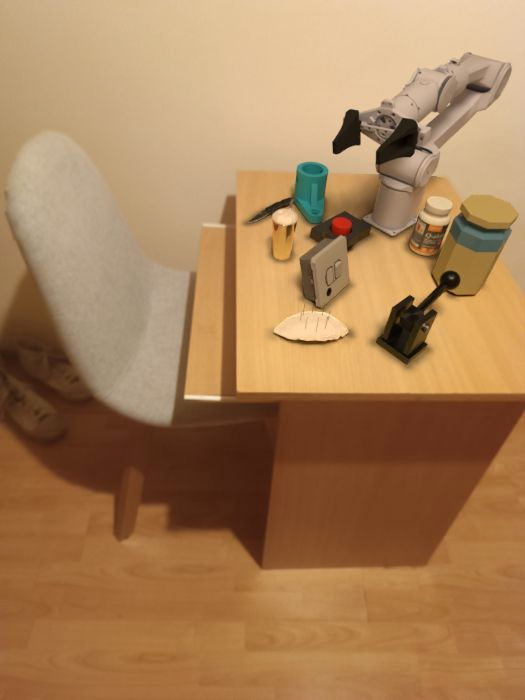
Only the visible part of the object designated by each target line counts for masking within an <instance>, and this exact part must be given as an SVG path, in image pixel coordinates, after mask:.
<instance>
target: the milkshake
mask: <svg viewBox="0 0 525 700" xmlns="http://www.w3.org/2000/svg"><path fill="white" fill-rule="evenodd" d="M293 201H294V199H291V203H290V204H289V207H288V208H279V209H278V210H275V211H274V212H273V214H272V215H271V224H272V255H273V258H275V259H277V260H279V261H285V260H288V259H289V258H290V257H291V254H292V249H293V244H294V239H295V233H296V229H297V225H298V220H299V217H298V214H297V212H295V211H294V210H292V209H293V206H294V202H293Z"/></svg>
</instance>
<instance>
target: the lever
mask: <svg viewBox="0 0 525 700" xmlns="http://www.w3.org/2000/svg"><path fill="white" fill-rule="evenodd" d="M439 283H440V285H439V286H438V285H437V286H436V287H435V288H434V289H433V290H432V291H431V292H430V293H429V294H427V297H425V298H424V299H423V300H422V301H421V302H420V303H419V304H418V305H417V306H416V305H414V303H413V304H412V305H411V306H410V307H409V308H408V309H407V310H406V311H405V312H404V313H403V314H402V315H401V316H400V321H399V325H400V326H401V327H403V328H404V329H406V330H407V331H409V332H410V333H411V331H412V328H413V326H414V323H415V322H416V321H417V320H419V319H420V318H421V317H422V316H424V315H425V312H426V311H427V310H428V309H429V308H430V307H431V306H432V305H433V304H434V303H435V302H436V301H437V300H438V299H439V298H440V297H441V296H442V295H443V294H444V293H445V292H446V291H448V290H454V289H456V288H457V287H458V286H459V284H460V276H459V274H458V273H457V272H455V271H451V270H450V271H446V272H444V273H443V274H442V275H441V276H440V279H439Z"/></svg>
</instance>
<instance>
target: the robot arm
mask: <svg viewBox="0 0 525 700" xmlns="http://www.w3.org/2000/svg"><path fill="white" fill-rule="evenodd" d="M512 71H513V67H512V62H509V61H507V62H504V61H501V60H497V59H493V58H489V57H486V56H481V55H478V54H474V53H472V52H470V51H467V52H464V53H463V55H462V56H461V57H460V58H459V59H458V58H453V57H452V58H451V59H450V60H449V62H447V63H445V64H440V65H438V67H435V68H434V69H430V68H426V67H423V68H420V67H417V68H416V69H415V71H414V72H413V73H412V75H411V77H410V79H409V80H408V82H406V83H405V84H404V86H403V88H402V90H401V91H400V92H399V93H397V94H396V95H395V96H394V97H393V98H391V99H388V98H384V99H383V100H382V101H381V102H380V106H378V107H375V108H371V109H366V110H362V111H360V110H359V109H353V108H349V109H347V111H345V113H344V116H343V117H342V125H341V127H340V129H339V131H338V132H337V134H336V136H335V137H334V139H332V141H331V147H332V154H333V155H340V154H341V153H343V152H344V151H346V150H347V149H350V148H351V147H356V146H359V147H360V146H361V145H362V134H363V135H364V136H365V137H367V138H369V139H370V140H371V141H374V142H375V143H377V144H378V145H379V146H378V147H377V149H376V150H375V166H374V167H375V172H376V173H377V174H378V178H377V180H379V181H380V184H379V187H378V192H377V195H376V199H375V203H374V207H373V211H372V212H371V213H369V214H367V215H365V216H363V217H362V221H364V222H365V223H367V224H369V225H371V227H372V226H373V227H374V228H376V229H378V230H380V231H381V232H383V233H384V234H387V235H388V236H390V237H395V236H397V235H398V234H400V233H402V232H403V231H405V230H407V229H408V228H410V227H413V225H414V226H415V224H416V221H417V218H418V214H419V209H420V207H421V205H422V202H423V201H422V200H423V198H424V195H425V191H426V190H425V186H426V185H427V184H428V183H429V181H430V179H431V178H432V176H433V174H434V173H436V171H437V169H438V166H439V162H440V157H441V156H440V155H441V150H440V149H441V148H442V147H443V146H444V145H446V143H447V142H449V140H451V138H453V137H454V136H455V135H456V134H457V133H459V131H460V130H461V129H463V127H465V125H467V123H469V121H470V120H471V119H472V118H473V117H474V116H475V115H476V114H477V113H478V112H482V111H486V110H487V109H488V108H489V107H491V105H493V104H494V103H495V102H496V101H497V100H498V99H499V98H500V96H501V95H502V93H503V91H504V90H505V88H506V86H507V84H508V82H509V80H510V77H511V74H512ZM431 113H438V114H437V115H436V116H435V117H434V118H433V119H431V120H430V121H429V122H428V123H426V125H424V124H422V123H421V122H422V121H423V120H424V119H426V117H427V116H428V115H429V114H431Z"/></svg>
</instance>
